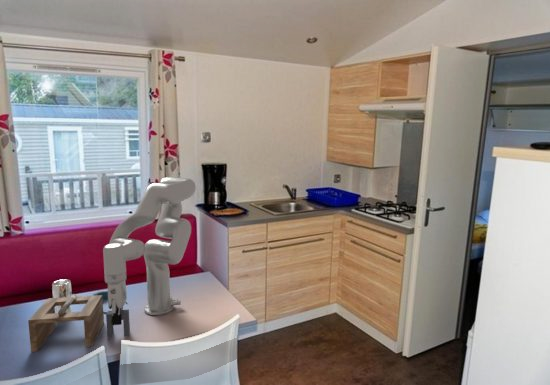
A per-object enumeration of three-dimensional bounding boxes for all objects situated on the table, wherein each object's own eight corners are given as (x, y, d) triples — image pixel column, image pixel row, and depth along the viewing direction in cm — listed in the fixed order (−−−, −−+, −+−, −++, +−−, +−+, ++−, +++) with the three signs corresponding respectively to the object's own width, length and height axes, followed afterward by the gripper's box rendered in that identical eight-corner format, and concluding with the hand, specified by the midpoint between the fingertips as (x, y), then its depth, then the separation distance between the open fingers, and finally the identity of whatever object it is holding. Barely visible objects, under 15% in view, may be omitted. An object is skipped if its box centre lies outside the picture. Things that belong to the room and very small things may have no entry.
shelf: (103, 322, 156) (101, 290, 154) (91, 346, 139) (89, 310, 136) (50, 326, 152) (47, 293, 150) (31, 351, 135) (27, 314, 133)
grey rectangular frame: (129, 332, 149) (128, 309, 148) (128, 336, 146) (127, 313, 145) (109, 333, 148) (107, 310, 146) (107, 337, 145) (106, 314, 143)
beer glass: (65, 320, 157) (62, 286, 155) (50, 318, 159) (47, 284, 156) (77, 313, 164) (74, 279, 162) (62, 311, 166) (60, 278, 163)
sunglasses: (107, 296, 181) (107, 287, 180) (130, 306, 175) (131, 296, 174) (81, 308, 169) (81, 298, 168) (105, 320, 163) (106, 309, 162)
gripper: (121, 284, 136) (124, 332, 139) (130, 268, 152) (132, 311, 155) (99, 285, 135) (102, 333, 137) (110, 269, 150) (112, 313, 153)
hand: (118, 321), depth 146 cm, fingers closed on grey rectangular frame, 3 cm apart
